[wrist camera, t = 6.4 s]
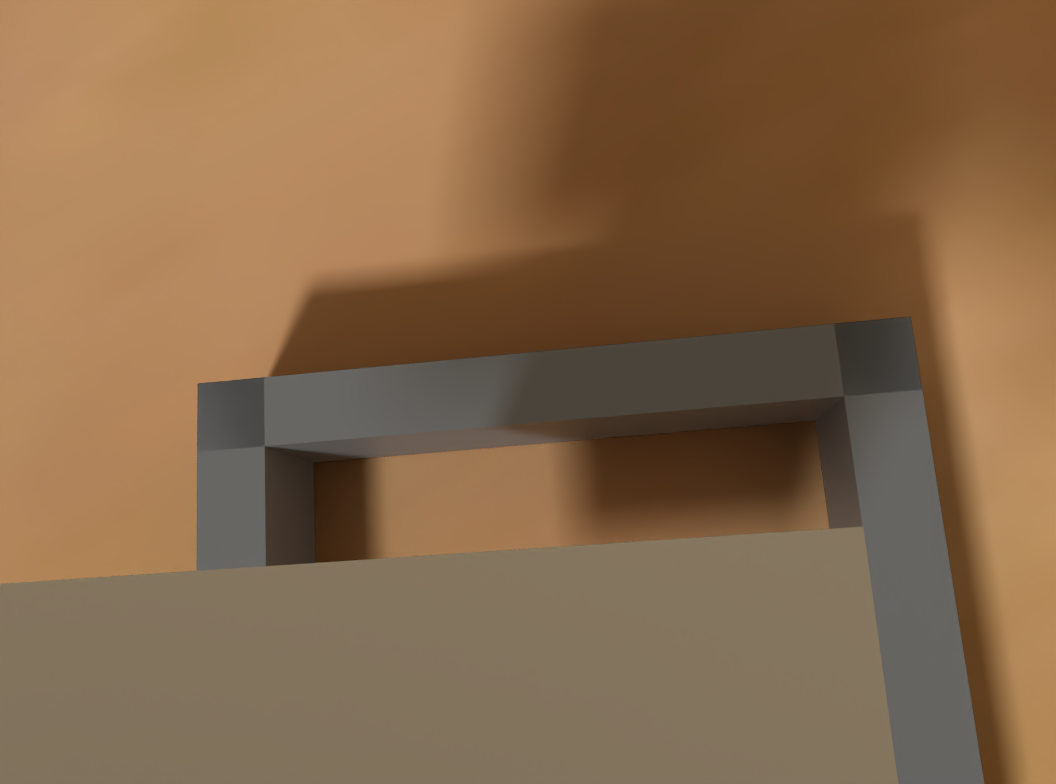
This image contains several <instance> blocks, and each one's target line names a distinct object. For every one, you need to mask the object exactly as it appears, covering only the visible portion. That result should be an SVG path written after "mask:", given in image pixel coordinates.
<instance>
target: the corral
mask: <svg viewBox="0 0 1056 784" xmlns="http://www.w3.org/2000/svg"><path fill="white" fill-rule="evenodd" d="M803 421H815V422H816V430H817V437H818V445H819V452H820V460H821V467H822V475H823V482H824V490H825V497H826V505H827V513H828V520H829V528H830V529H835V528H850V527H863V528H864V535H865V543H866V550H867V557H868V565H869V572H870V579H871V587H872V594H873V601H874V609H875V616H876V623H877V631H878V638H879V645H880V653H881V660H882V668H883V675H884V682H885V690H886V697H887V704H888V712H889V719H890V726H891V734H892V741H893V748H894V756H895V763H896V770H897V778H898V784H984V778H983V772H982V765H981V759H980V753H979V746H978V740H977V734H976V727H975V721H974V715H973V708H972V702H971V696H970V689H969V683H968V677H967V670H966V664H965V658H964V651H963V645H962V639H961V632H960V626H959V620H958V613H957V607H956V601H955V594H954V588H953V582H952V575H951V569H950V563H949V556H948V550H947V544H946V537H945V531H944V525H943V518H942V512H941V506H940V499H939V493H938V487H937V480H936V474H935V468H934V461H933V455H932V449H931V442H930V436H929V430H928V423H927V417H926V411H925V404H924V398H923V392H922V385H921V379H920V373H919V366H918V360H917V354H916V347H915V341H914V335H913V328H912V322H911V317H900V318H890V319H879V320H868V321H858V322H847V323H836V324H826V325H815V326H805V327H794V328H783V329H773V330H762V331H751V332H741V333H730V334H720V335H709V336H698V337H688V338H677V339H666V340H656V341H645V342H635V343H624V344H613V345H603V346H592V347H582V348H571V349H560V350H550V351H539V352H528V353H518V354H507V355H497V356H486V357H475V358H465V359H454V360H443V361H433V362H422V363H412V364H401V365H390V366H380V367H369V368H358V369H348V370H337V371H327V372H316V373H305V374H295V375H284V376H273V377H263V378H252V379H242V380H231V381H220V382H210V383H199V384H198V414H197V571H202V570H217V569H232V568H247V567H262V566H277V565H292V564H308V563H316V556H315V506H314V462H326V461H338V460H350V459H362V458H374V457H386V456H398V455H410V454H421V453H433V452H445V451H457V450H469V449H481V448H493V447H505V446H517V445H529V444H541V443H553V442H565V441H577V440H589V439H600V438H612V437H624V436H636V435H648V434H660V433H672V432H684V431H696V430H708V429H720V428H732V427H744V426H756V425H768V424H780V423H791V422H803Z"/></svg>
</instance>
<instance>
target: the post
mask: <svg viewBox="0 0 1056 784" xmlns="http://www.w3.org/2000/svg"><path fill="white" fill-rule="evenodd" d="M0 784H898V778H897V770H896V763H895V756H894V748H893V741H892V734H891V726H890V719H889V712H888V704H887V697H886V690H885V682H884V675H883V668H882V660H881V653H880V645H879V638H878V631H877V623H876V616H875V609H874V601H873V594H872V587H871V579H870V572H869V565H868V557H867V550H866V543H865V535H864V528H863V527H850V528H835V529H820V530H804V531H789V532H774V533H759V534H744V535H729V536H714V537H699V538H684V539H669V540H654V541H639V542H624V543H609V544H594V545H579V546H564V547H548V548H533V549H518V550H503V551H488V552H473V553H458V554H443V555H428V556H413V557H398V558H383V559H368V560H353V561H338V562H323V563H308V564H292V565H277V566H262V567H247V568H232V569H217V570H202V571H187V572H172V573H157V574H142V575H127V576H112V577H97V578H82V579H67V580H51V581H36V582H21V583H6V584H0Z"/></svg>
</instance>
